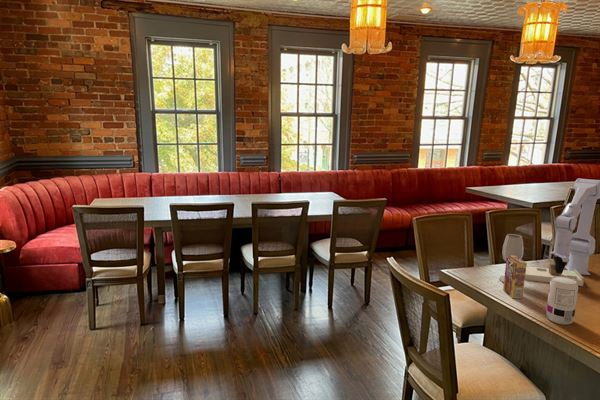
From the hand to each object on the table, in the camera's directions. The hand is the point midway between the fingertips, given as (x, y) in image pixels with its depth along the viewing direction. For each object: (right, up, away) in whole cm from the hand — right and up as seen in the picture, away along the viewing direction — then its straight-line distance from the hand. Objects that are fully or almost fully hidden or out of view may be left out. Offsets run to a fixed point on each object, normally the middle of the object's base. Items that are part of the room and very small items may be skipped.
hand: (558, 273), depth 174 cm
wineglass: (-21, -4, +1) cm, 21 cm away
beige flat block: (-1, -3, +5) cm, 6 cm away
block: (0, -1, +3) cm, 3 cm away
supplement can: (-22, -11, -34) cm, 42 cm away
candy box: (-27, -7, -12) cm, 30 cm away
